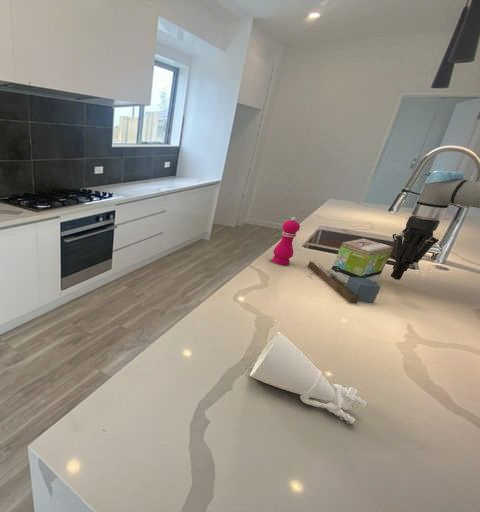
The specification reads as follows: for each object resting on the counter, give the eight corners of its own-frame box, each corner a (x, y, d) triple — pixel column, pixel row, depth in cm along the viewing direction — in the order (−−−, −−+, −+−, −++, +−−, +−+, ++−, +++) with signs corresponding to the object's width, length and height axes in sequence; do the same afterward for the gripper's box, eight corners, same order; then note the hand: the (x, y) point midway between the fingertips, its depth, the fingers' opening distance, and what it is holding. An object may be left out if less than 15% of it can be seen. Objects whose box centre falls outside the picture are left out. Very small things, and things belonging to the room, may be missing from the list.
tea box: (356, 289, 107) (373, 251, 101) (327, 277, 116) (340, 241, 110) (378, 282, 113) (394, 245, 108) (348, 271, 122) (362, 237, 116)
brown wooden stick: (356, 303, 98) (359, 297, 97) (350, 302, 98) (353, 296, 97) (313, 266, 125) (315, 260, 124) (308, 265, 125) (309, 260, 124)
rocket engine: (390, 385, 53) (284, 325, 61) (362, 443, 50) (255, 372, 59) (358, 389, 62) (271, 338, 71) (333, 438, 60) (246, 378, 69)
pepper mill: (271, 257, 132) (284, 213, 125) (290, 261, 129) (305, 216, 121) (269, 262, 127) (282, 217, 119) (289, 267, 123) (304, 220, 115)
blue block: (373, 302, 99) (380, 286, 96) (353, 300, 100) (360, 284, 97) (362, 293, 104) (368, 278, 102) (343, 291, 105) (349, 276, 103)
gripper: (438, 216, 105) (407, 275, 114) (395, 213, 107) (369, 271, 116) (457, 222, 98) (423, 284, 107) (412, 218, 100) (382, 280, 110)
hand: (395, 277), depth 112 cm, fingers closed
